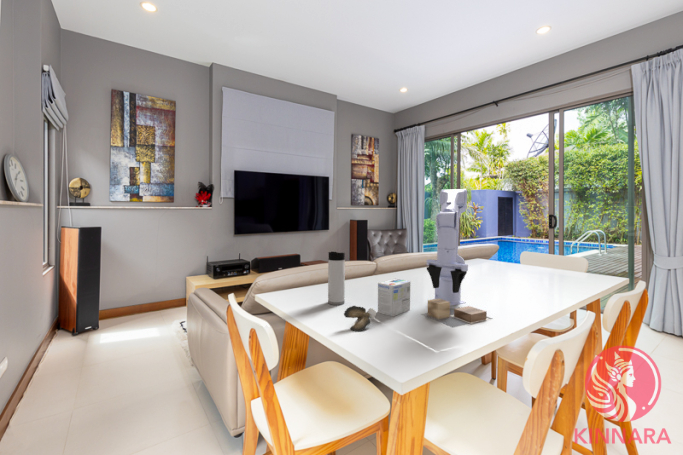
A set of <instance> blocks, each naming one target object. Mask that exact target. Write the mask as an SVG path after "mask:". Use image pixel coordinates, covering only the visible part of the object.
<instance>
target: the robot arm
mask: <svg viewBox="0 0 683 455" xmlns="http://www.w3.org/2000/svg"><path fill="white" fill-rule="evenodd" d="M467 203H468V190H467V188H455V189H452V188H451V189H450V188H449V189H445V188H444V189H443V188H442V189H441V190H440V192H439V204H440V211H439V212H438V213H436V217H435V225H436V235H437V244H436V245H437V249H436V251H437V252H436V253H437V254H436V255H437V256H436V259H431V258H429V259H426V266H427V267H426V270H427V272H428V274H429V276H430V279H431V284H432V289H434V299H438V298H439V299H442V300H445V301H448V302H450V306H457V305H463V304H466V302H465V301H463V300H461V297H462V296H461V293H462V292H461V290H462V289H461V288H462V282H463V281H464V279H465V277H466V275H467V272H469V265H468V264H466V262H465V259H464V258H463V257H462V256H460V255H459V254H458V253H459V235H460V233H459V230H460V218H461V214H463V213H465V212H466V211H467Z"/></svg>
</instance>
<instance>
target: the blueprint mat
mask: <svg viewBox="0 0 683 455" xmlns="http://www.w3.org/2000/svg"><path fill="white" fill-rule="evenodd" d="M456 308H461V307H459V306H458V307H454V308H450V317H447V318H442V319H436V318H434V317H431V316H429V315H427V314H428V312H426V313H420V315H422V316H424V317H427V318H429V319H431V320H434V321H436V322H439V323H441V324H443V325H445V326H449V327H450V328H456V327H461V326H465V325H473V324H475V323H480V322H484V321H491V320H493V318H492V317H489V316H487V318H486V319H485V320H480V321H476V322H469V321H466V320H463V319H460V318H458V317H455V316H454V309H456Z"/></svg>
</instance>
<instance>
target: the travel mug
mask: <svg viewBox="0 0 683 455" xmlns="http://www.w3.org/2000/svg"><path fill="white" fill-rule="evenodd" d="M345 255H346V253H345V252H337V251H328V263H327V264H328V266H327V267H328V268H327V270H328V271H327V272H328V273H327V274H328V275H327V276H328V278H327V279H328V280H327V281H328V282H327V290H328V291H327V292H328V293H327V303H328V304H329V305H332V306H342V305H344V304H345V292H346V291H345V289H346V287H345V286H346V284H345V280H346V279H345V276H346V272H345V271H346V270H345V268H346V267H345V266H346V263H345V262H346V260H345V257H346V256H345Z"/></svg>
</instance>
